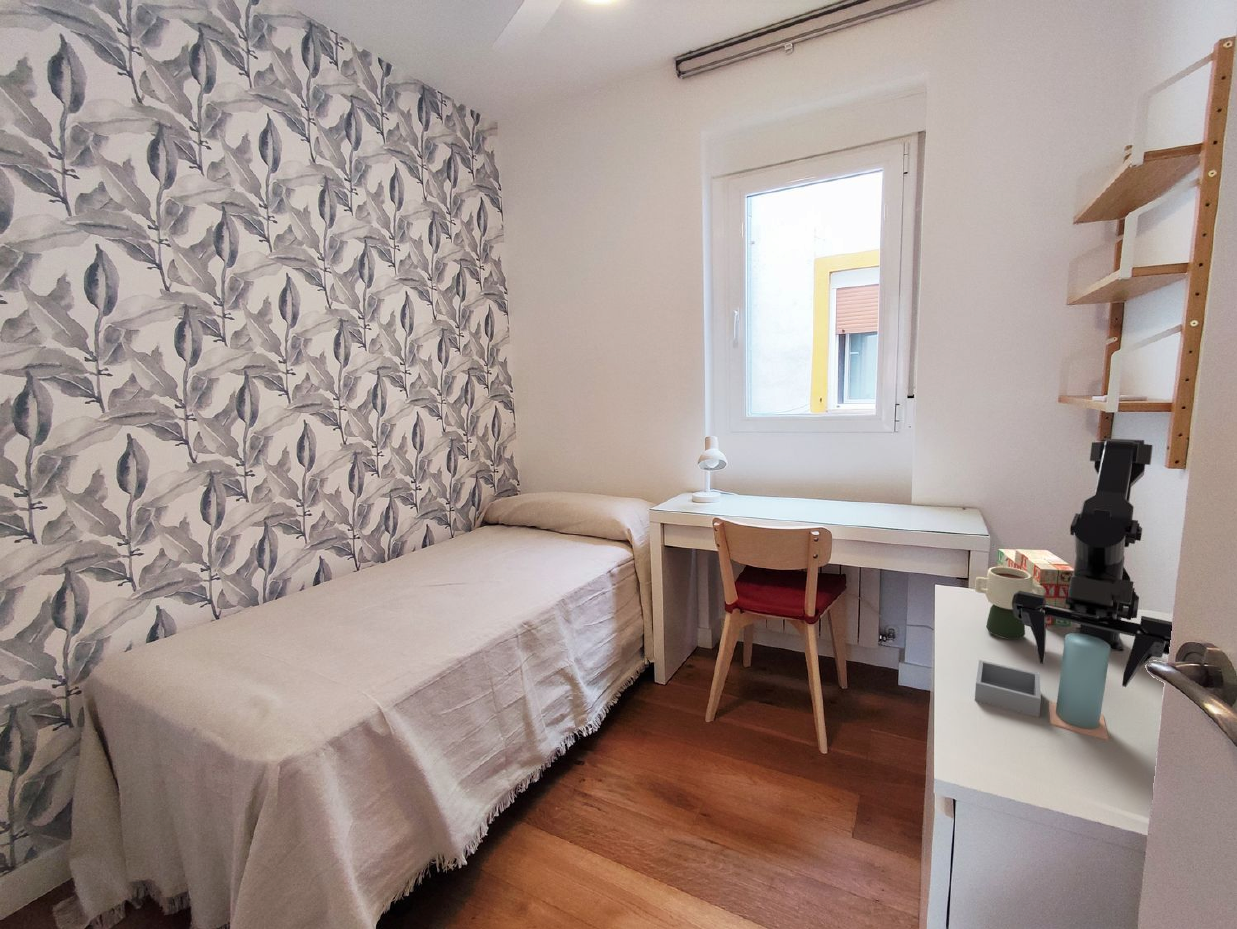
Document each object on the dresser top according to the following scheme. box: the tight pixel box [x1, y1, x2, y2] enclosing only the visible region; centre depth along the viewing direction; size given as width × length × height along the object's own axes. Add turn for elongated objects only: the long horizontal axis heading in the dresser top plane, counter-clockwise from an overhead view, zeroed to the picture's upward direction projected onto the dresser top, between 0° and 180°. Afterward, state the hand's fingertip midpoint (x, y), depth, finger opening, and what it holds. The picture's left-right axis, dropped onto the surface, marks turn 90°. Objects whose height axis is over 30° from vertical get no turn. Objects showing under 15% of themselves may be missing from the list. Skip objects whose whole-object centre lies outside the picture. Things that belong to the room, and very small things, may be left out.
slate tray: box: [974, 659, 1042, 718], centre depth 87 cm, size 8×8×3 cm
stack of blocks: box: [997, 548, 1074, 628], centre depth 119 cm, size 21×6×12 cm, turn 164°
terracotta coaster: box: [1048, 700, 1109, 741], centre depth 81 cm, size 6×6×1 cm
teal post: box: [1056, 632, 1111, 729], centre depth 80 cm, size 5×5×12 cm
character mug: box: [974, 566, 1044, 640], centre depth 106 cm, size 11×7×13 cm, turn 56°
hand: (1081, 673), depth 79 cm, fingers open, 9 cm apart
